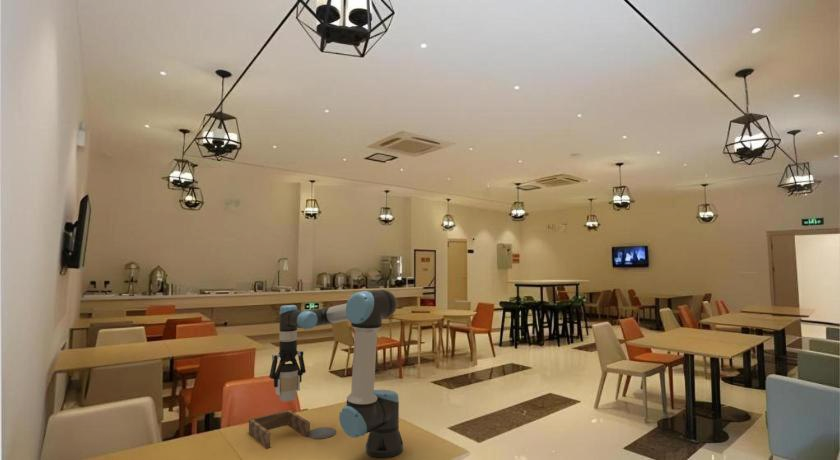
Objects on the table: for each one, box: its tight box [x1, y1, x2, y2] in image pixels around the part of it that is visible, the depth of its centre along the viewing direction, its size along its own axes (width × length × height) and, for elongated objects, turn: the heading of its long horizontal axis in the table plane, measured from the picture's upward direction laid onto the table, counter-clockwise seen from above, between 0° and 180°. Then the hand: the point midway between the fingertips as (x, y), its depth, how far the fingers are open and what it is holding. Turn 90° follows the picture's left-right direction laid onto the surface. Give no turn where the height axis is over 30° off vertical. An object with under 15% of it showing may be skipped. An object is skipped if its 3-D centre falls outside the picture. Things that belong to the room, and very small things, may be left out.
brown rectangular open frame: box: [248, 409, 311, 450], centre depth 189 cm, size 22×19×6 cm
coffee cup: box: [278, 363, 298, 402], centre depth 189 cm, size 9×9×15 cm
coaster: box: [308, 426, 337, 440], centre depth 190 cm, size 12×12×1 cm
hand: (287, 392), depth 189 cm, fingers closed on coffee cup, 8 cm apart
